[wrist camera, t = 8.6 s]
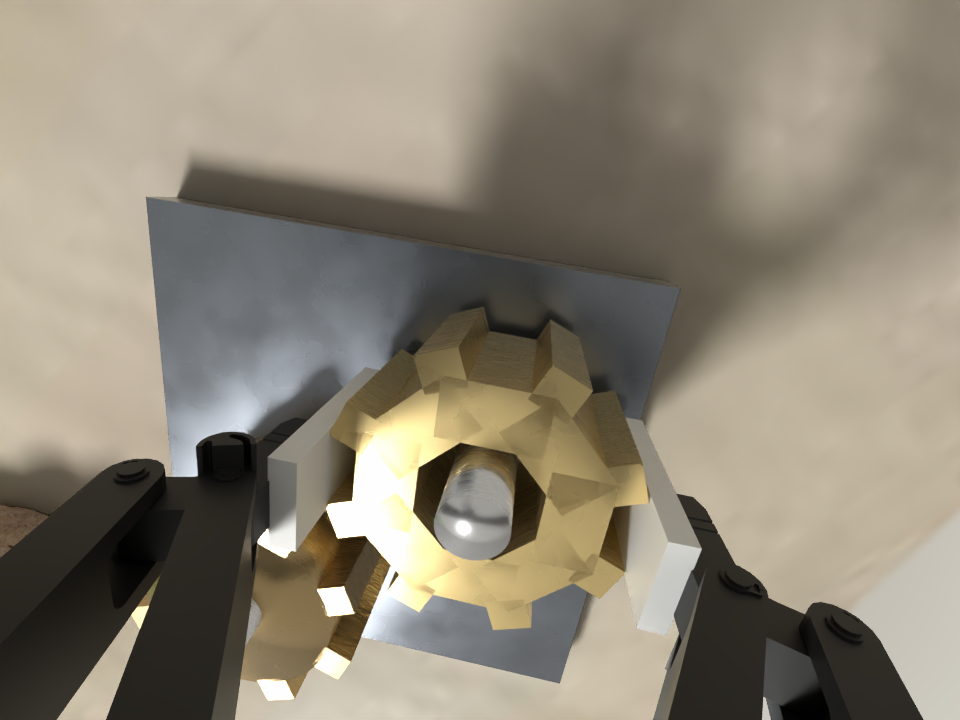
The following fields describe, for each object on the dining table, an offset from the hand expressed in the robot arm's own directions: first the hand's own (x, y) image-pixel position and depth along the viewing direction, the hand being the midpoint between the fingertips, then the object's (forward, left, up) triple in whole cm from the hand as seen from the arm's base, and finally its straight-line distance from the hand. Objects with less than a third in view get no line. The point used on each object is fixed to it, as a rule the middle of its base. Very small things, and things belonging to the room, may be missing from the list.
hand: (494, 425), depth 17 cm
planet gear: (0, 0, 0) cm, 0 cm away
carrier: (+4, -5, -3) cm, 7 cm away
